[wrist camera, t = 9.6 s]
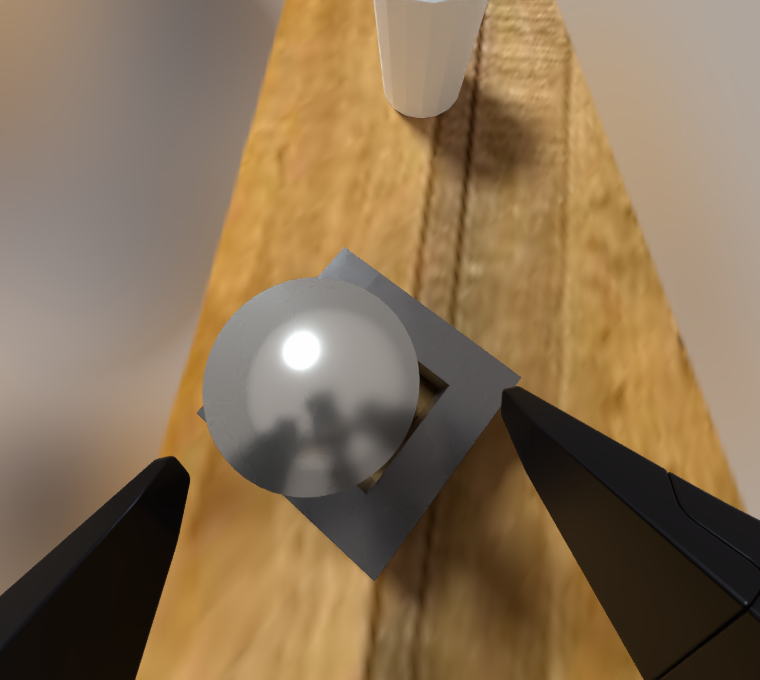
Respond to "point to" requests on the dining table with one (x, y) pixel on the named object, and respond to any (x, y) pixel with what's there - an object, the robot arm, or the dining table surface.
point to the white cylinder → (425, 51)
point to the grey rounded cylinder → (311, 387)
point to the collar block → (410, 429)
